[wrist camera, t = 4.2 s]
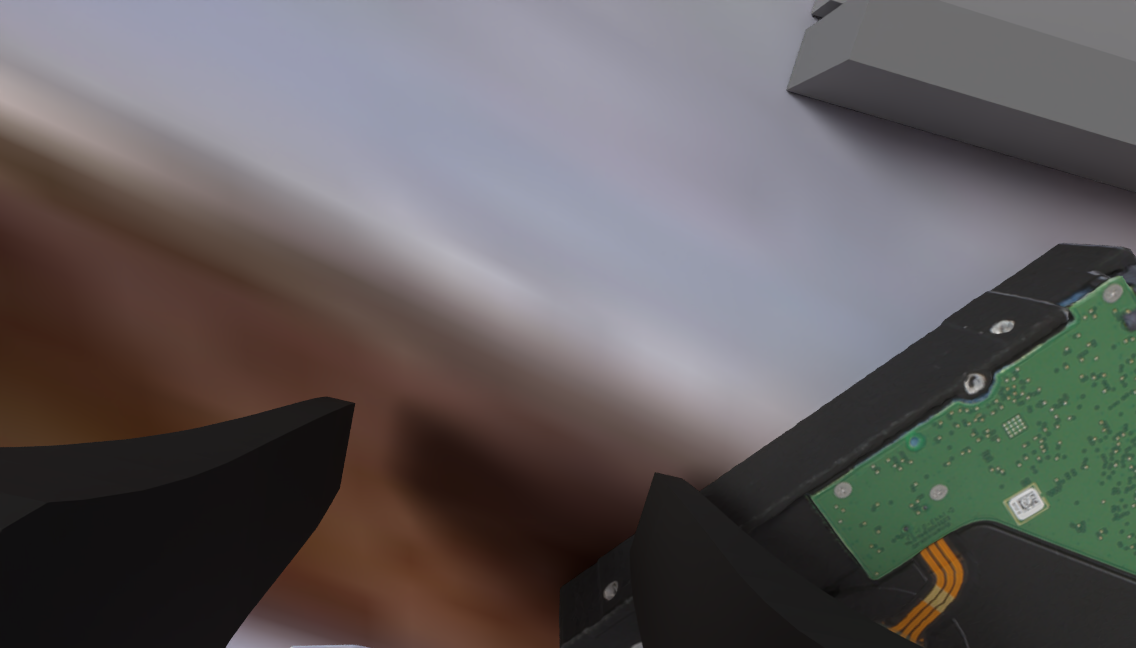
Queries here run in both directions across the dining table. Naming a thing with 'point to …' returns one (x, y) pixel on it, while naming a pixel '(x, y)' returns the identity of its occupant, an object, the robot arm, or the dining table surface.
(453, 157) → the dining table surface
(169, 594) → the robot arm
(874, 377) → the disk drive
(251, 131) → the dining table surface
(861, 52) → the grey flat panel
